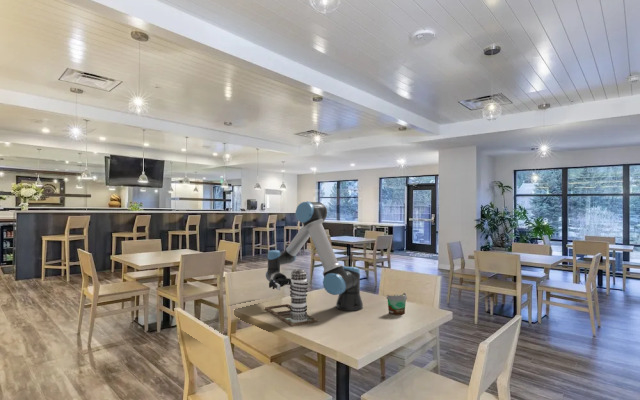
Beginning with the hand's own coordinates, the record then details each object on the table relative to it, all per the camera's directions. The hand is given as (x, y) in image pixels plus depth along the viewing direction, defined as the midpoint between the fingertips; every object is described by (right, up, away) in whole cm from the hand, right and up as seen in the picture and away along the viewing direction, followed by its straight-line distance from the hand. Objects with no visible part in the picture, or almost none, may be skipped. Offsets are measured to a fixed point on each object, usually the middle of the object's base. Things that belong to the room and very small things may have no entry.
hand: (291, 286), depth 187 cm
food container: (+58, -16, +3) cm, 60 cm away
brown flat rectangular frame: (-1, -15, 0) cm, 15 cm away
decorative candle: (+4, -15, -9) cm, 18 cm away
